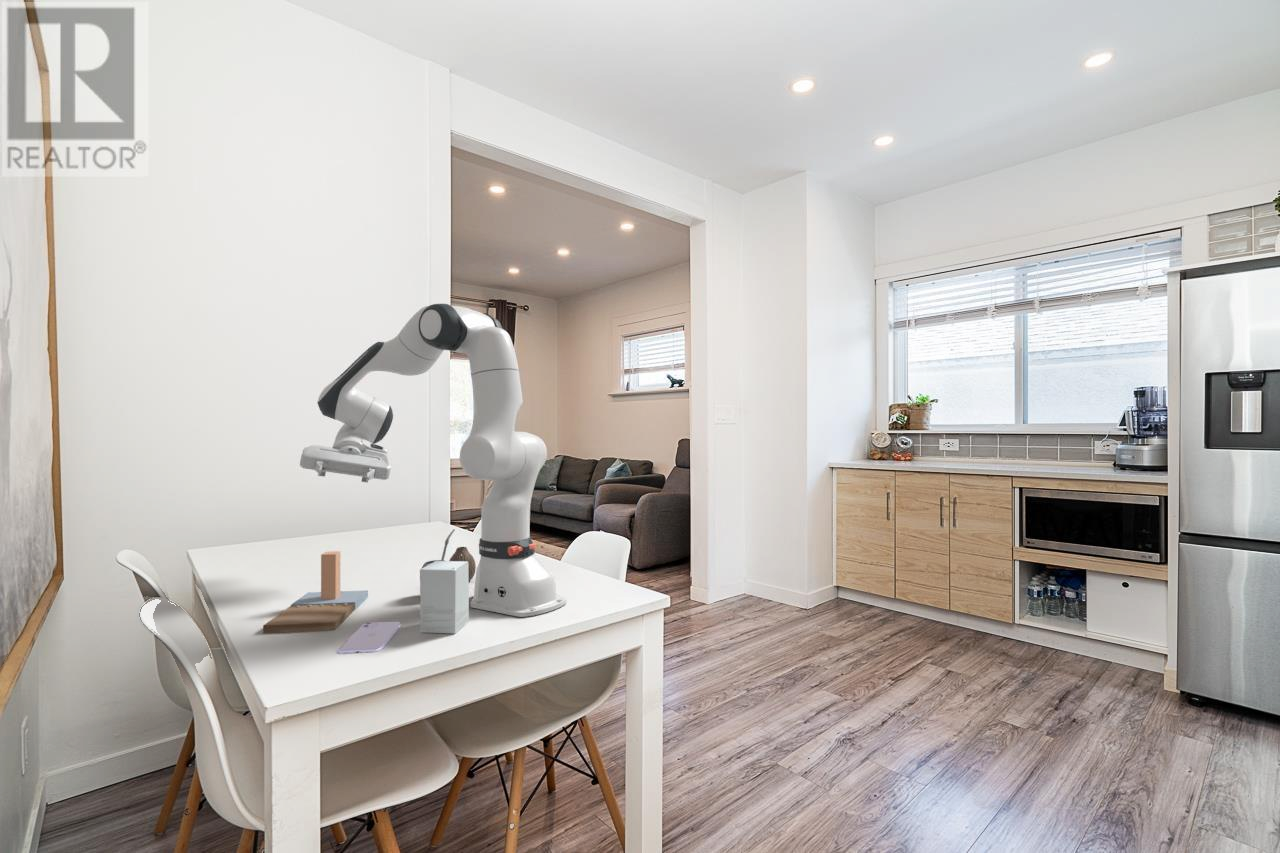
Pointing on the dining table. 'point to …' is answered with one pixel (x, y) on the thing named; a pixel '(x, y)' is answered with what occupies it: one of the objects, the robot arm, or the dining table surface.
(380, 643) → the mobile phone
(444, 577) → the supplement box
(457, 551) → the vase
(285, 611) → the board
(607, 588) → the dining table surface
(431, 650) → the dining table surface
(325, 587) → the stub
